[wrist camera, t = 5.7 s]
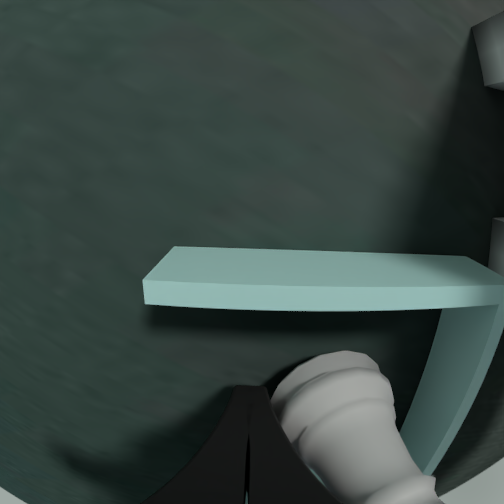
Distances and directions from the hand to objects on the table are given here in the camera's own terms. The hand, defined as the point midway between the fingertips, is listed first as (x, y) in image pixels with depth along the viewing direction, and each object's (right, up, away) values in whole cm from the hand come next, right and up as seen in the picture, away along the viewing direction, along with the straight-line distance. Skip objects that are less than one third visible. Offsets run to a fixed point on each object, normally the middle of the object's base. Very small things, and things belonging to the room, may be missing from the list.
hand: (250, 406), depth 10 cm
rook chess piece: (+3, 0, +1) cm, 3 cm away
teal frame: (+2, 0, +1) cm, 3 cm away
